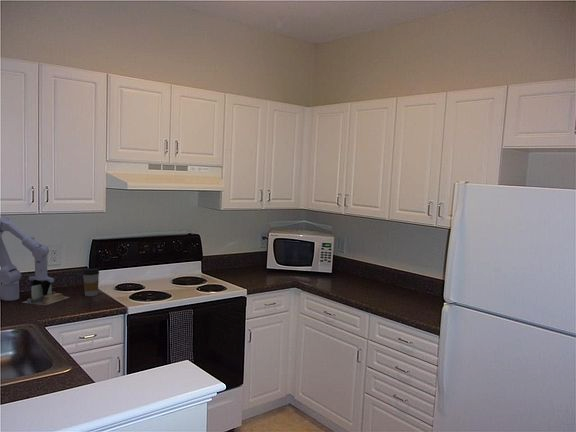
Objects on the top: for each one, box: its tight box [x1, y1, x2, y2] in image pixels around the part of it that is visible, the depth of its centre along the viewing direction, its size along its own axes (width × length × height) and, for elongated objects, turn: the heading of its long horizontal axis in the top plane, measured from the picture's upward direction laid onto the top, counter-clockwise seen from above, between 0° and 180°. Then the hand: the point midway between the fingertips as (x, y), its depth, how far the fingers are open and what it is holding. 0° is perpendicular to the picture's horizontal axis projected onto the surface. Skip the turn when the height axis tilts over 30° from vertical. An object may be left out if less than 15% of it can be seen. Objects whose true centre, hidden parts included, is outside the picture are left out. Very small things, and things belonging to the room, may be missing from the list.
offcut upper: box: [45, 292, 63, 300], centre depth 244 cm, size 4×8×2 cm, turn 163°
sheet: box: [30, 284, 53, 300], centre depth 247 cm, size 1×12×8 cm, turn 163°
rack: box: [21, 291, 70, 306], centre depth 246 cm, size 15×17×3 cm
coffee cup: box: [82, 267, 100, 297], centre depth 258 cm, size 8×8×15 cm
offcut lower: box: [43, 295, 66, 304], centre depth 244 cm, size 4×10×2 cm, turn 163°
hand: (41, 294), depth 247 cm, fingers open, 4 cm apart
